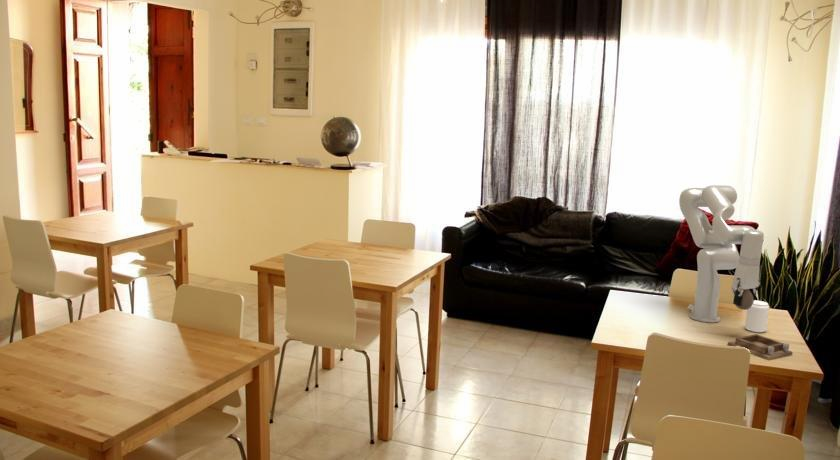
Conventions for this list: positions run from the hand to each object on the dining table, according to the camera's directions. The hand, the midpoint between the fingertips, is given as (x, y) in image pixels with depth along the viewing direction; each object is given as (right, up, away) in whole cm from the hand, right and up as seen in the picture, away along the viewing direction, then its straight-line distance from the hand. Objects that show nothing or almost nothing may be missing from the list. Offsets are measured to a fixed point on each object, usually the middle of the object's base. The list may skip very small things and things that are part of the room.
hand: (743, 303), depth 292 cm
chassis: (+1, -17, -12) cm, 21 cm away
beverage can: (+11, -13, +13) cm, 21 cm away
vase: (0, -2, 0) cm, 2 cm away
